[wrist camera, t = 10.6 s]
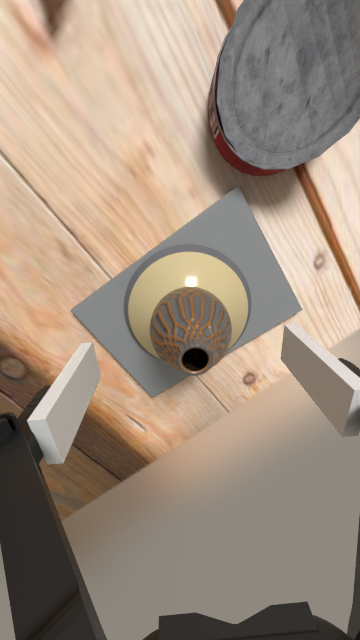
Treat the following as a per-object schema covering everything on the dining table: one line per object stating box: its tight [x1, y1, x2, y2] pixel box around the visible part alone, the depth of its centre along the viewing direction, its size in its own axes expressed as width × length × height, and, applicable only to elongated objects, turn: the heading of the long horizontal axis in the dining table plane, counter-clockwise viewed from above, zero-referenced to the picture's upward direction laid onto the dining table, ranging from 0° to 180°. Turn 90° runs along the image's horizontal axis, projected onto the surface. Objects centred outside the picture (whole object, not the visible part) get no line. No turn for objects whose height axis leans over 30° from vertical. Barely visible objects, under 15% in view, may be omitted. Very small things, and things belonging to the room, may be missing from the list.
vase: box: [150, 287, 232, 375], centre depth 20 cm, size 7×7×9 cm
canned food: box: [208, 0, 360, 176], centre depth 16 cm, size 11×10×10 cm
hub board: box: [70, 186, 302, 397], centre depth 25 cm, size 14×20×2 cm
